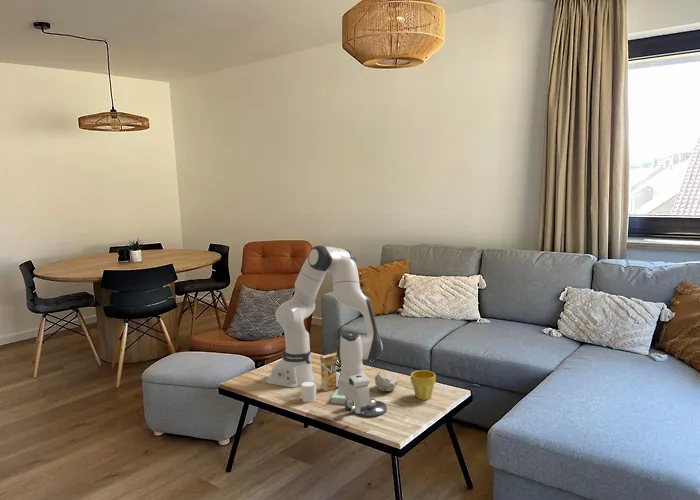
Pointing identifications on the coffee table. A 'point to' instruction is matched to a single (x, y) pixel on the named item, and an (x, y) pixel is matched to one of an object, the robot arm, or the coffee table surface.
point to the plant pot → (423, 383)
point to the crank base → (374, 410)
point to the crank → (370, 406)
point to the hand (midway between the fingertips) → (353, 409)
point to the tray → (338, 397)
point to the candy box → (328, 371)
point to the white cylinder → (308, 391)
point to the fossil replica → (385, 381)
